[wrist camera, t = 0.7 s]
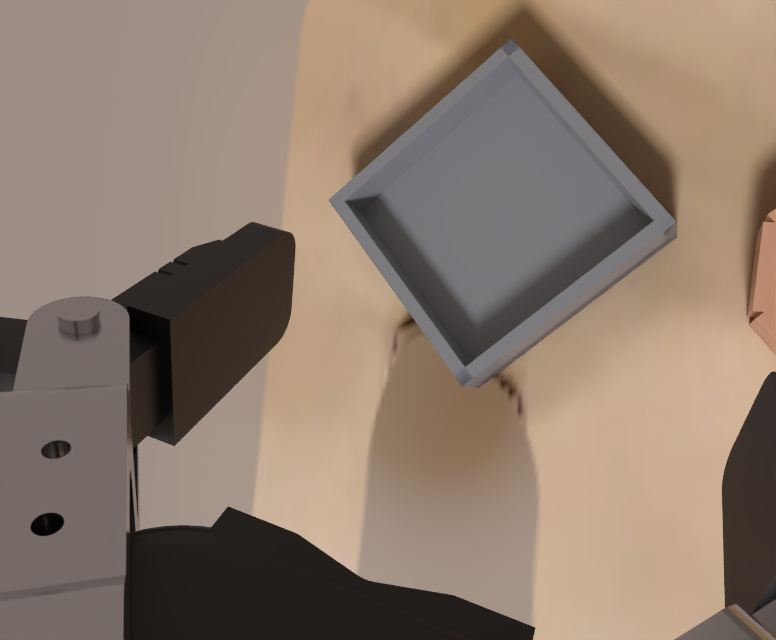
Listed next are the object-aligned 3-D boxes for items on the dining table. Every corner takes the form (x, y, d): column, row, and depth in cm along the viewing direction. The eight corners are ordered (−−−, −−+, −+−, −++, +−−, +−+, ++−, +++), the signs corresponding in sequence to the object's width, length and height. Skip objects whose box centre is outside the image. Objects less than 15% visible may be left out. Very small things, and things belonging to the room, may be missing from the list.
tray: (524, 66, 36) (511, 37, 33) (676, 237, 32) (676, 221, 30) (353, 214, 38) (328, 200, 35) (479, 387, 35) (462, 386, 32)
